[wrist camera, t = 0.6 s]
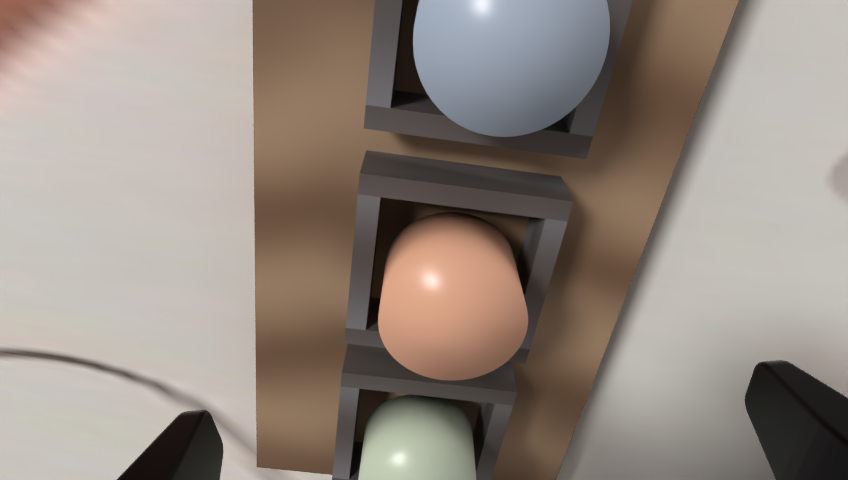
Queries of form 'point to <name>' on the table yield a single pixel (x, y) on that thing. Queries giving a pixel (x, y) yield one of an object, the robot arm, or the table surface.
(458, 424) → the sage button
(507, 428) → the button panel
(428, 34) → the slate button
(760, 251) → the table surface
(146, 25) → the table surface
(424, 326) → the terracotta button
